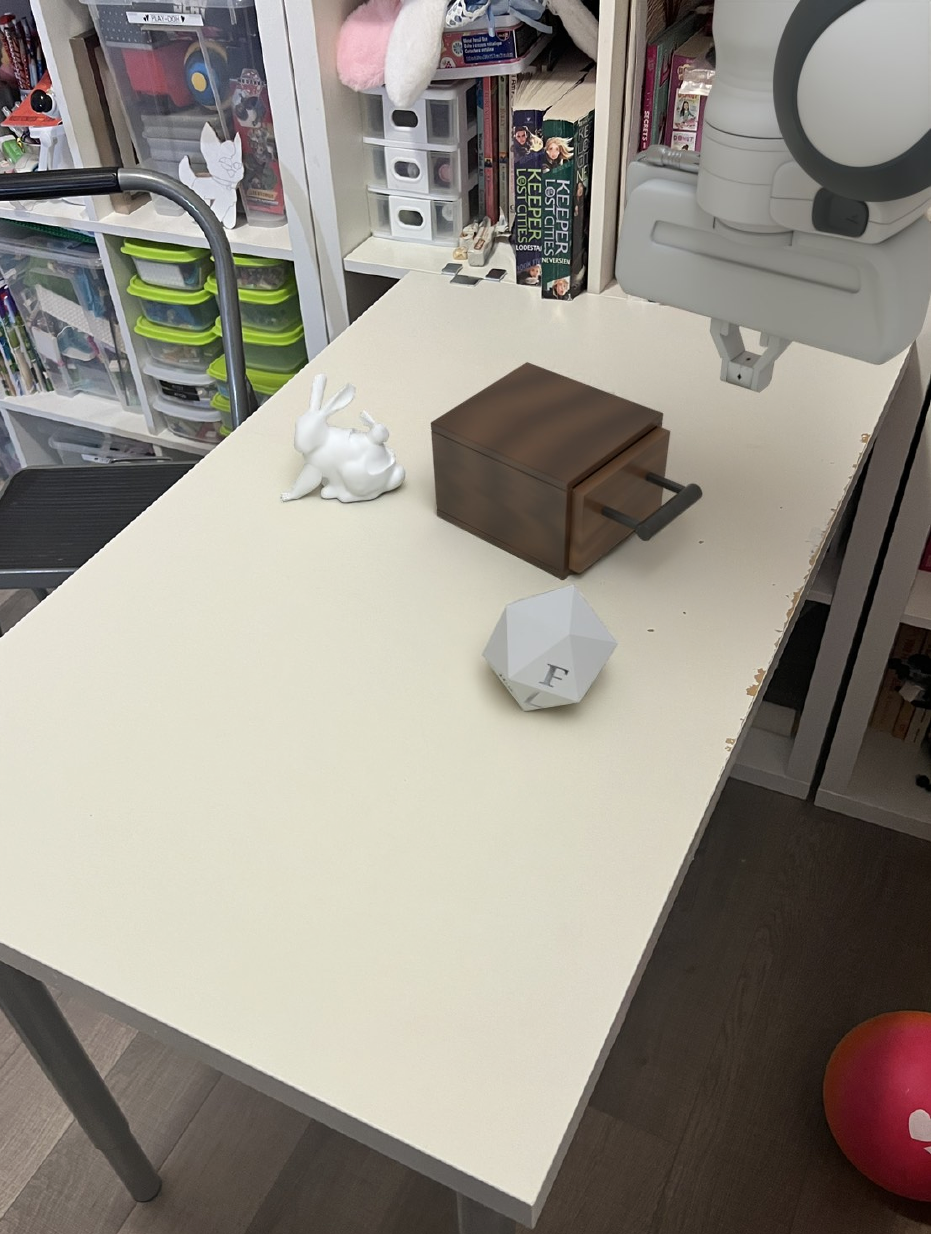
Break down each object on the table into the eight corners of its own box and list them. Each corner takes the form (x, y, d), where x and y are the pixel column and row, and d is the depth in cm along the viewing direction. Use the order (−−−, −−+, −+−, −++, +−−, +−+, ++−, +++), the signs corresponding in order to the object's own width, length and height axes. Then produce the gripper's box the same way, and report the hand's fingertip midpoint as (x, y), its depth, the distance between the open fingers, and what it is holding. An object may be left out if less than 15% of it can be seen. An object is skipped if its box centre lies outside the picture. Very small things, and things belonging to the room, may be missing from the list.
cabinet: (652, 509, 91) (663, 412, 84) (563, 580, 86) (567, 483, 79) (526, 454, 99) (526, 361, 92) (436, 515, 94) (430, 422, 87)
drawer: (710, 530, 87) (723, 450, 82) (629, 598, 82) (637, 518, 77) (541, 457, 97) (542, 381, 91) (459, 513, 92) (455, 437, 86)
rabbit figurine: (277, 502, 97) (258, 410, 90) (298, 457, 102) (281, 367, 95) (400, 507, 95) (391, 414, 88) (416, 461, 100) (408, 369, 93)
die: (462, 699, 79) (492, 676, 69) (494, 591, 80) (528, 553, 70) (566, 733, 79) (610, 715, 69) (596, 625, 81) (643, 593, 71)
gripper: (599, 155, 65) (593, 361, 75) (918, 219, 53) (860, 451, 63) (659, 123, 67) (645, 326, 77) (974, 177, 56) (911, 406, 66)
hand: (744, 383), depth 70 cm, fingers closed
